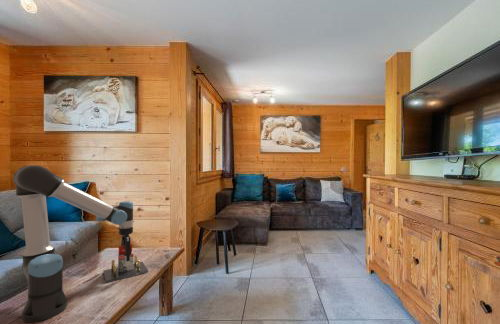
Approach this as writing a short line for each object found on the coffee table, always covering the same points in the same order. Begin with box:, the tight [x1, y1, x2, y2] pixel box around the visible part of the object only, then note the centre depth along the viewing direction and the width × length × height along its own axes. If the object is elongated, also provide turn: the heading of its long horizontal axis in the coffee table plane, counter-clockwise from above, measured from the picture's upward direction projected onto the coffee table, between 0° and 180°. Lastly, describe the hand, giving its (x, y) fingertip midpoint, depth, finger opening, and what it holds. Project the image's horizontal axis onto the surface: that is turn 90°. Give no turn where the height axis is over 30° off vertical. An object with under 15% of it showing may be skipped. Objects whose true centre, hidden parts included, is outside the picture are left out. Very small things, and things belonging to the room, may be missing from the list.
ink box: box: [117, 243, 135, 273], centre depth 143 cm, size 4×8×15 cm, turn 126°
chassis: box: [102, 255, 149, 284], centre depth 143 cm, size 22×16×7 cm
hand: (125, 262), depth 143 cm, fingers open, 13 cm apart
